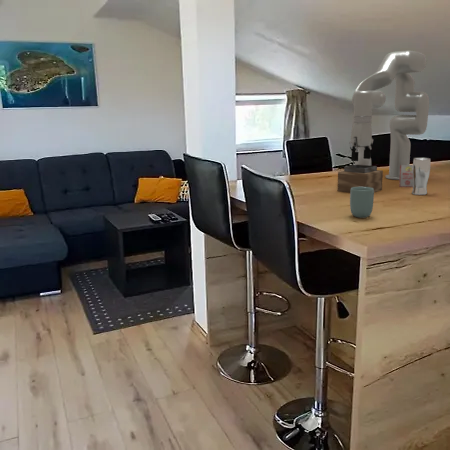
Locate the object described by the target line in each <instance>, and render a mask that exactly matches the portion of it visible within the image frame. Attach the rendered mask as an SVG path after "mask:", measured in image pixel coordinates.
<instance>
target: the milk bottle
mask: <svg viewBox="0 0 450 450" xmlns="http://www.w3.org/2000/svg"><path fill="white" fill-rule="evenodd" d="M364 150H365V148H364V147H359V149H358V151H357V152H359V153H358V161H354V165H369V166H372V158H371V157H370V159H364Z"/></svg>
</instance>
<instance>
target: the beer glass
mask: <svg viewBox="0 0 450 450" xmlns="http://www.w3.org/2000/svg"><path fill="white" fill-rule="evenodd" d="M412 162H413V163H412V165H413V168H412V174H413V187H412V191H411V194H412V195H414V196H426V194H427V195H428V189H427V187H428V182H429V181H428V180H429V178H430V173H431V158H429V157H413V161H412Z"/></svg>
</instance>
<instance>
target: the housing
mask: <svg viewBox="0 0 450 450" xmlns="http://www.w3.org/2000/svg"><path fill="white" fill-rule="evenodd" d="M383 178H384V171H383V170H380V169H378V166H377V165H371V166H369V165H355V164H353V165H347V166H343V170H340V171H338V172H337V192H342V193H343V192H344V193H350V190H351V188H352V187H371V188H373V189H374V193H376V192H381V191H383V180H384V179H383Z"/></svg>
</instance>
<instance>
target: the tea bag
mask: <svg viewBox="0 0 450 450" xmlns="http://www.w3.org/2000/svg"><path fill="white" fill-rule="evenodd" d="M412 168H413V164H409V165H400V180H398V182H399V184H398V187H399V188H413V174H412Z"/></svg>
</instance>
